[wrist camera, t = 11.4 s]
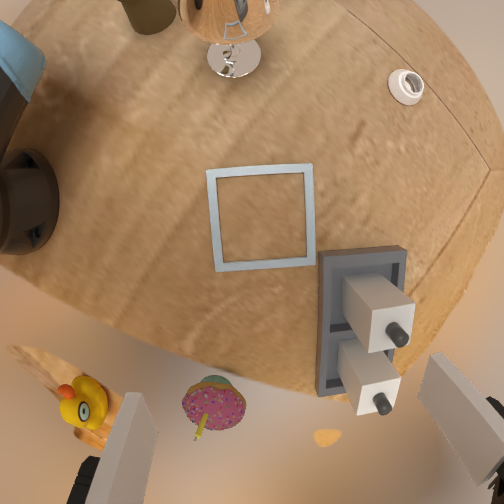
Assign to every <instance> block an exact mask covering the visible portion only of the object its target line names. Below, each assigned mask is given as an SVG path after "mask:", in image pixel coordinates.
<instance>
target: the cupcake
mask: <svg viewBox="0 0 504 504" xmlns="http://www.w3.org/2000/svg"><path fill="white" fill-rule="evenodd" d="M182 405H183V408H184V410H185V413H186V414H187V417H189V419H190V420H192V422H194V423H195V424H196V425H198V429H197V431H196V434H195V439H194V441H196V439H197V438H200V436H201V433H202V431H203V428H207V429H210V430H219V431H220V430H224V429H227V428H230V427H233V426H235V425H236V424H237V423H239V422H240V421H241V419H242V418H243V416H244V413H245V409H246V401H245V399H244V398H243V396H242V395H241V394H240V393H239V392H238V391H237V390H236V389H235V388H234V387H233V386H232V385H231V383H230V382H229V381H228V380H227V379H226V378H224V377H221V376H217V375H212V376H208V377H205V378H204V379H203V380H202V381H201V382H200V383H198V384H196V385H194V386H192V387H190V389H189V390H188V392H187V393H186V395H185V397H184V398H183V400H182Z"/></svg>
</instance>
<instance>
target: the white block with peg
mask: <svg viewBox="0 0 504 504" xmlns="http://www.w3.org/2000/svg"><path fill="white" fill-rule="evenodd" d="M415 304H416V303H415V302H414V301H413V300H411V299H410V298H409V297H408V296H407V295H405V294H404V293H403V292H402V291H401V290H399V289H398V288H397V287H396V286H395V285H393V284H392V283H391V282H390V281H389V280H387V279H386V278H385V277H384V276H382V275H381V274H380V273H379V272H375V273H367V274H358V275H350V276H342V311H341V312H342V314H343V315H344V317H345V318H346V320H347V322H348V323H349V325H350V326H351V328H352V329H353V331H354V332H355V334H356V336H357V337H358V339H359V340H360V342H361V343H362V345H363V347H364V348H365V350H366V351H367V353H373V352H378V351H383V350H388V349H393V348H397V347H398V348H400V347H403V346H406V345H409V343H410V337H411V331H412V325H413V318H414V312H415Z"/></svg>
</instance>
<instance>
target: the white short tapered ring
mask: <svg viewBox="0 0 504 504" xmlns="http://www.w3.org/2000/svg"><path fill="white" fill-rule="evenodd" d="M405 77H407V78H408V79H409V80H410V81H411V82H412V84H413V86H414V89H415V92H412V91H411V87H410V85H409V84H408V83H407V82H406V81H405ZM388 86H389V89H390V92H391V94H392V95H393V96H394V98H395V99H396V100H398V101H399V102H400V103H402V104H405V105H414V104H416V103H417V102H419V101H420V98H421V96H422V93H423V89H424V84H423V81H422V79H421V78H420V76H419V75H417V74H416V73H414V72H411V71H408V70H404V69H397V70H395V71H394V72H392V73H391V74H390V76H389V78H388Z"/></svg>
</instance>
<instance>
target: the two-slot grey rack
mask: <svg viewBox="0 0 504 504" xmlns="http://www.w3.org/2000/svg"><path fill="white" fill-rule="evenodd" d="M318 253H319V290H318V335H317V359H316V378H315V389H316V392H317V395H318V397H323V396H330V395H336V394H342V393H347V392H346V390H345V388H344V385H343V383H342V381H341V378H340V376H339V374H338V372H337V360H338V349H339V341H343V340H350V339H357V338H358V337H357V336H356V334H355V332H354V331H353V329H352V328H351V326H350V325H349V323H348V322H347V320H346V318H345V317H344V315H343V314H342V312H341V311H342V276H350V275H358V274H367V273H375V272H379V273H380V274H381V275H382V276H384V277H385V278H386V279H387V280H389V281H390V282H391V283H392V284H393V285H395V286H396V287H397V288H398V289H399V290H401V291H402V292H403V290H404V280H405V269H406V256H407V250H406V249H404V248H402V247H400V246H398V245H397V246H384V247H371V248H357V249H343V250H330V251H318ZM394 350H395V348H393V349H388V350H383V352H384V353H385V355H386V356H387V357H388V359H389V360H390V362H391V363H392V361H393V356H394Z"/></svg>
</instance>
